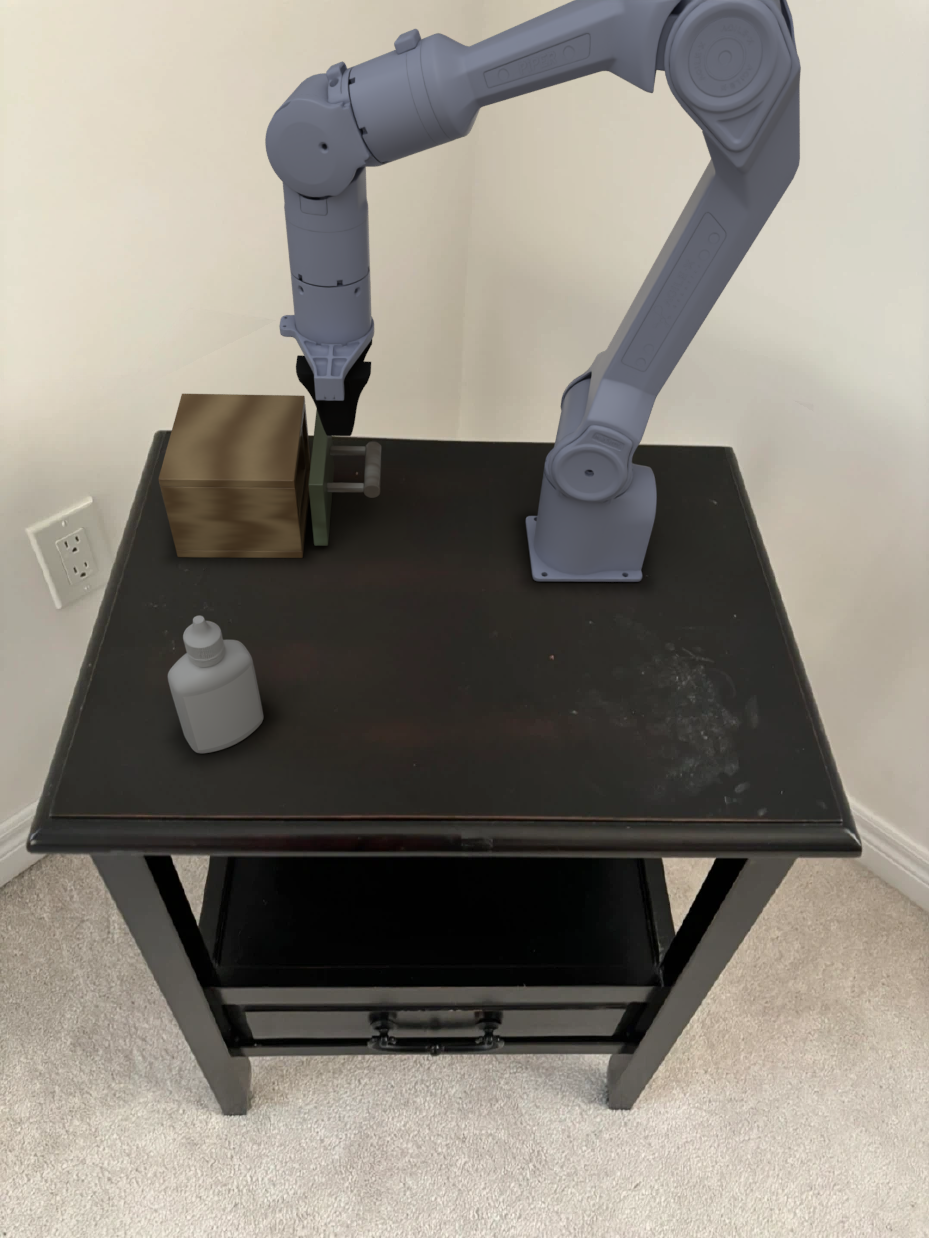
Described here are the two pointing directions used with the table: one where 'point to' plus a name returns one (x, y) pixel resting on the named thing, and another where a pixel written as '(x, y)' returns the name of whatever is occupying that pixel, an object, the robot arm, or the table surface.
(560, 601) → the table surface
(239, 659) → the eye dropper bottle
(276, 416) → the cabinet
